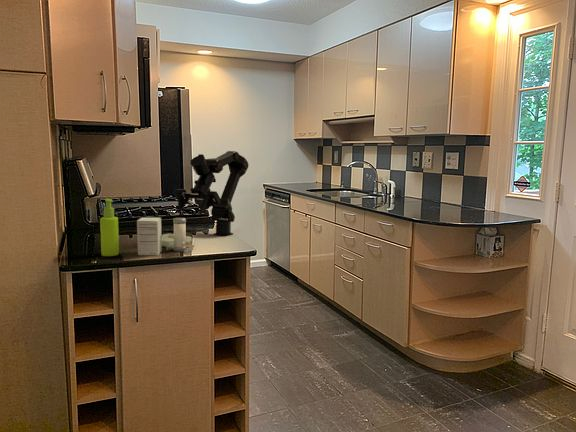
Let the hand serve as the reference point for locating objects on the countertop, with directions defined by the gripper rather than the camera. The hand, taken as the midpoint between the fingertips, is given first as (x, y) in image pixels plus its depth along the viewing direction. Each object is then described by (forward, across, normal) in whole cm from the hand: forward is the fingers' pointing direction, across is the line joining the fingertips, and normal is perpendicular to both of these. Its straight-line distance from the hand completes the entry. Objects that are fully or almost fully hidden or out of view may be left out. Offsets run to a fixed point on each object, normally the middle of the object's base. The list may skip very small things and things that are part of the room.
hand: (189, 213), depth 174 cm
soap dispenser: (+26, +18, +7) cm, 32 cm away
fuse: (+14, 0, -5) cm, 15 cm away
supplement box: (+20, +7, +1) cm, 21 cm away
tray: (+7, +11, -11) cm, 18 cm away
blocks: (+12, 0, -7) cm, 14 cm away
